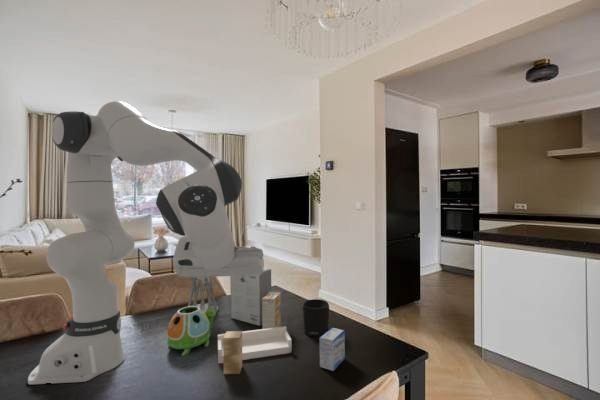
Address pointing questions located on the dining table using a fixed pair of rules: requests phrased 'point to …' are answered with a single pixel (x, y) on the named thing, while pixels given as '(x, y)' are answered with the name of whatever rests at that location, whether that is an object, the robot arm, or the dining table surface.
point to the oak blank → (232, 352)
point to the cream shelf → (261, 343)
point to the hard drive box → (249, 297)
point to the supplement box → (271, 310)
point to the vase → (202, 295)
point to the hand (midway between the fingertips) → (225, 280)
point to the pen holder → (315, 317)
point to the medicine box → (332, 349)
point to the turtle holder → (190, 328)
